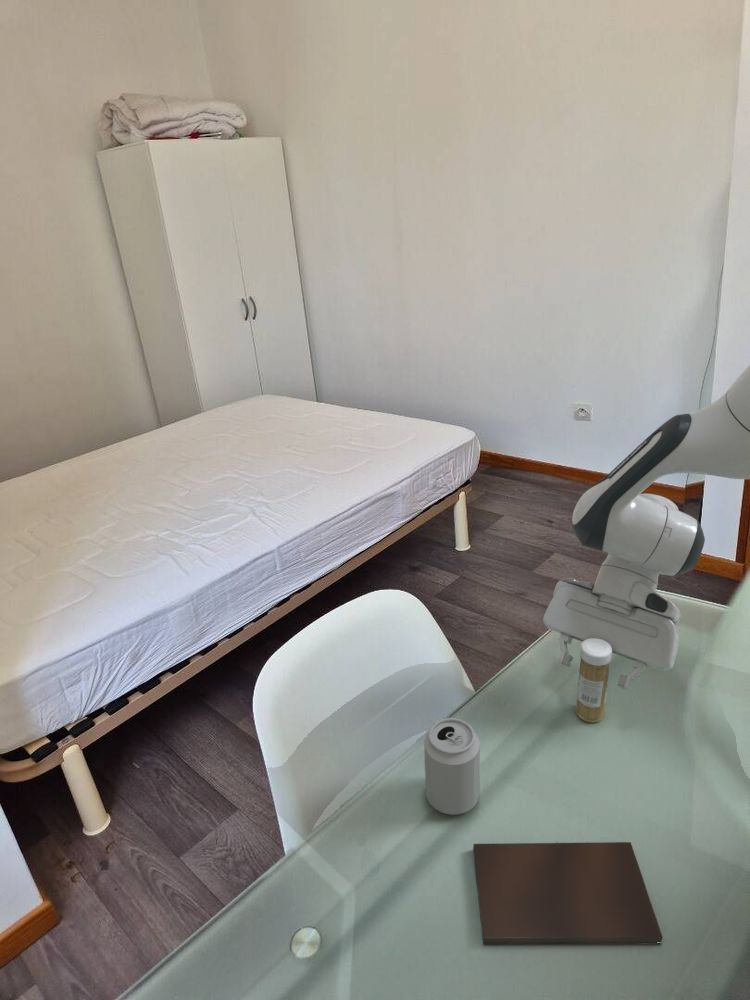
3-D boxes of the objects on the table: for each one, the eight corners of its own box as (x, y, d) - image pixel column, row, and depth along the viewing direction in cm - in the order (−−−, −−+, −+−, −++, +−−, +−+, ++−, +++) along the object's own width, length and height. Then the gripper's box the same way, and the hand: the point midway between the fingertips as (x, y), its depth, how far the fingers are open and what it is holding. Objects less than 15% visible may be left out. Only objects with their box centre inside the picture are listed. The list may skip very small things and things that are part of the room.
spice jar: (609, 712, 109) (618, 645, 103) (594, 728, 106) (602, 660, 100) (583, 699, 112) (590, 632, 106) (568, 714, 109) (575, 647, 103)
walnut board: (629, 848, 88) (630, 841, 88) (661, 944, 77) (662, 937, 77) (473, 849, 89) (473, 843, 89) (483, 944, 79) (483, 938, 78)
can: (449, 766, 102) (448, 704, 96) (490, 794, 97) (491, 731, 91) (414, 797, 97) (411, 734, 92) (456, 829, 92) (455, 764, 87)
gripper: (555, 568, 112) (525, 648, 109) (687, 609, 100) (656, 700, 98) (565, 578, 117) (536, 655, 114) (691, 619, 105) (662, 705, 103)
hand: (592, 676), depth 106 cm, fingers open, 8 cm apart
